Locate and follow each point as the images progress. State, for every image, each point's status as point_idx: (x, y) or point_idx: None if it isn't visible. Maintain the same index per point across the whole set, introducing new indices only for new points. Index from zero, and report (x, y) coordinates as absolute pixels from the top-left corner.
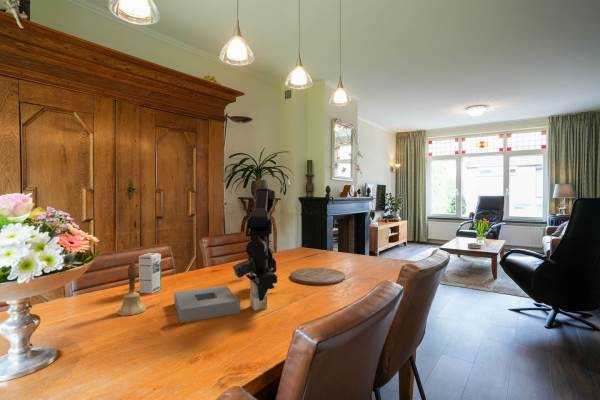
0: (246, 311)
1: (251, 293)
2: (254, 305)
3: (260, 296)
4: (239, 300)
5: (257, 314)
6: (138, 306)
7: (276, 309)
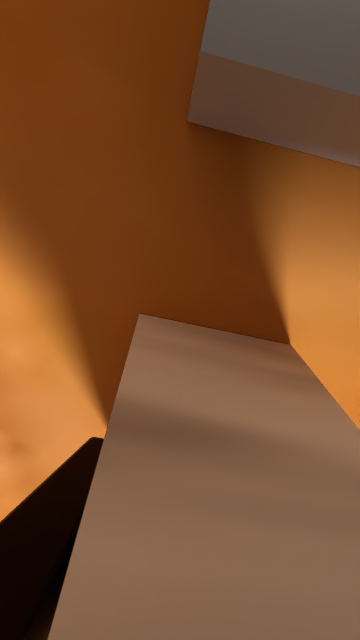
0: (180, 224)
1: (316, 456)
2: (134, 338)
3: (38, 497)
4: (211, 35)
5: (13, 280)
6: None
7: None
